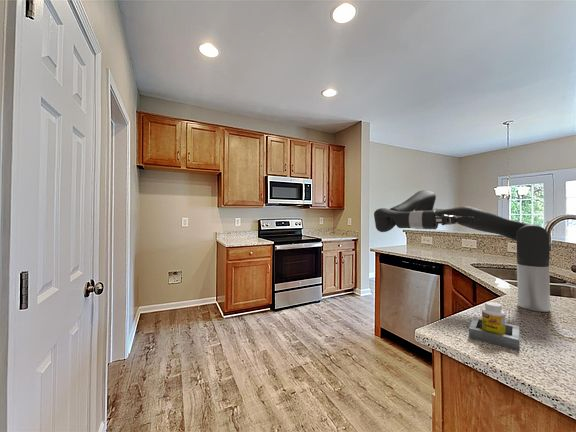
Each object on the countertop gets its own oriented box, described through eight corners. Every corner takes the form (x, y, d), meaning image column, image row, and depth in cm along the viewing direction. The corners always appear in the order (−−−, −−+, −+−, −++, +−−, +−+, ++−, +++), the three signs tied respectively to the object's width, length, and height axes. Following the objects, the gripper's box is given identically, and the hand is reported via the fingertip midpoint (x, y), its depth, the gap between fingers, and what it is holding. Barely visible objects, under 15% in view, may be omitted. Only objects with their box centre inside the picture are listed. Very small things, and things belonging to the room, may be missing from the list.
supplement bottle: (478, 334, 79) (477, 302, 79) (489, 331, 81) (488, 299, 81) (499, 342, 74) (498, 308, 74) (509, 338, 76) (509, 305, 76)
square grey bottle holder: (473, 325, 86) (473, 316, 86) (519, 335, 78) (519, 326, 78) (469, 337, 77) (469, 328, 77) (519, 350, 69) (519, 340, 69)
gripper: (418, 210, 96) (469, 209, 85) (427, 210, 107) (475, 209, 96) (418, 230, 96) (470, 231, 85) (428, 228, 107) (475, 229, 96)
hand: (472, 219), depth 91 cm, fingers open, 8 cm apart
